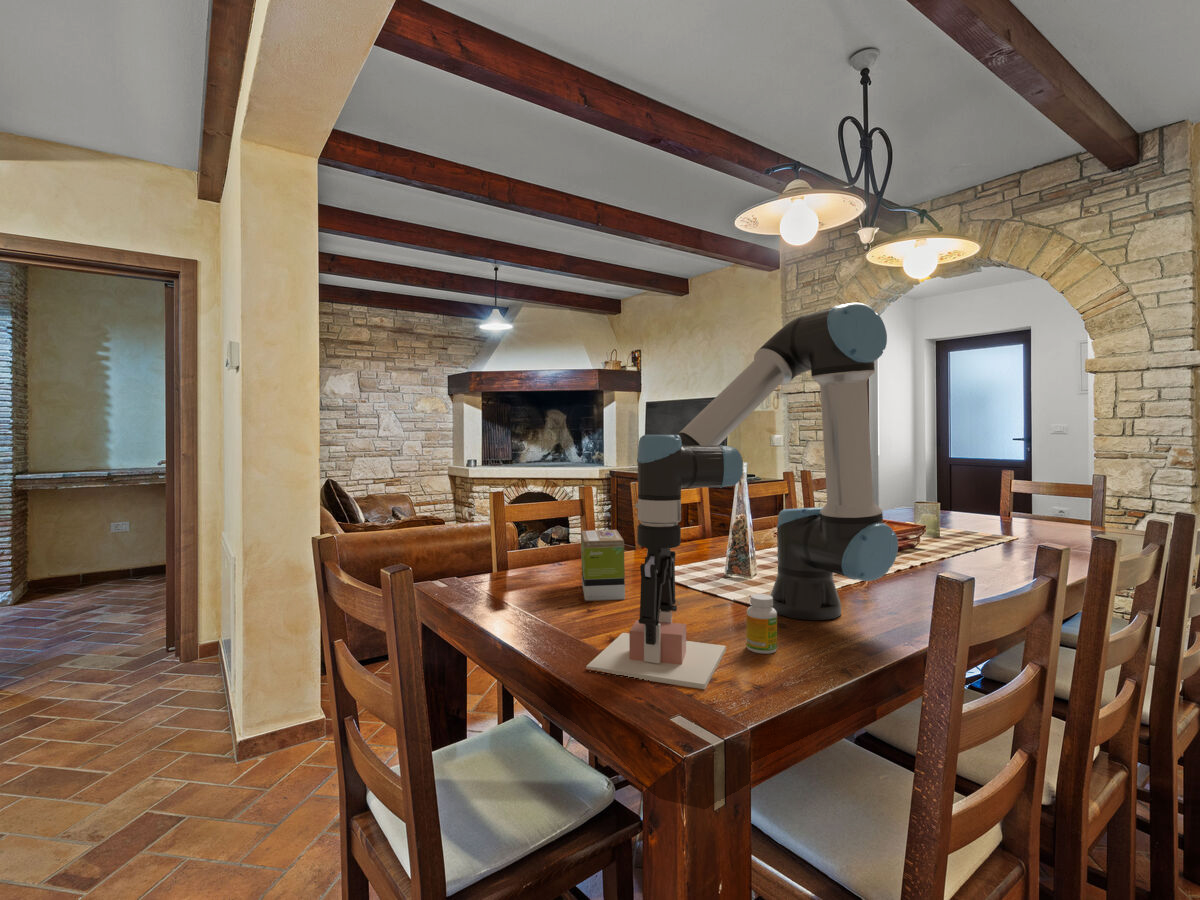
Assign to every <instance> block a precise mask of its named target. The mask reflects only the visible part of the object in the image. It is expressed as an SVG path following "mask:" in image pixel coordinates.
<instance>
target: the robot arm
mask: <svg viewBox="0 0 1200 900" xmlns="http://www.w3.org/2000/svg"><path fill="white" fill-rule="evenodd" d="M887 343H888V335H887V330H886V325H885V322H884V321H883V319H882V317H881V316H880V314H879V313H877V312H876V311H875V309H874V308H872V307H871V306H869V305H868V304H865V303H861V302H851V303H845V304H844V303H843V304H836V305H834V306H832V307H828V308H826V309H822V310H819V311H815V312H811V313H807V314H803V315H800V316H798V317H796V318H794V319H793V320H791V321H789V322H788V323H786V324H785V325H784V326H783V327H781V329H779V330H778V331H777V332H775V334H773V336H772V337H770V338H769V339H768V340H767V341H766V342H765V343H764V344H763V345H762V346H761V347H760V348H758V350H756V351H755V353H754V354H753V361H752V362H751V363H750V364H749V365H748V366H747V367H746V368H744V370H742V371H741V373H739V374H738V375H737V376H736V377H735V378H734V379H733V380H732V381H731V382H730V383H729V384H727V386H726V387H725V388H724V389H723V390H722V391H721V392H719V394H718V395H716V397H714V398H713V400H711V401H710V402H709V403H708V404H707V406H706V407H704V408H703V409H702V410H701V411H700V412H699V413H698V414H697V415H696V416H695V417H693V419H692V420H691V421H689V423H688V424H686V426H685V427H684V428H683V429H682V430H680V431H679V432H678V433H677V434H643V435H642V436H640V437H639V440H638V447H637V457H636V463H637V502H636V503H635V504H634V507H635V508H636V509H637V520H638V521H639V522H640V523H638V525H637V526H636V527H637V528H636V529H637V531H636V532H637V539H636V540H637V541H636V542H637V545H639V546H640V547H642V548H646V551H647V552H646V556H645V558H644V563H640V567H639V568H640V571H639V572H640V597H639V599H640V601H639V619H638V620H639V623H640V624H644V661H645V662H652V663H660V662H661V624H659V622H667V623H673V612H677V610H678V609H677V608H678V606H677V605H675V604H676V603H677V602H676V571H675V570H676V568H675V567H676V565H675V564H676V552H675V550H674V551H672V550H671V549H674V548H677V547H679V546H680V545H681V541H682V540H681V536H682V535H681V532H682V528H681V527H682V526H680V524H679V523H680V522H681V521H682V489H688V488H689V489H690V488H691V489H692V488H693V489H694V488H720V489H722V488H727V487H733V486H735V485H737V484H738V483H739V482H740V480H741V479H742V476H743V474H744V467H743V465H744V460H743V457H742V454H741V453H740V451H739V450H738V449H737V448H736V447H734V446H730V445H723V444H722V443H723V442H724V441H725V439H727V437H729V435H730V434H732V433H733V432H734V431H735V430H736V429H737V428H738V427H739V426H740V425H741V423H743V422H744V420H746V419H747V418H748V417H749V416H750V415H751V414H752V413H753V412H754V411H755V410H756V409H757V408H758V407H759V406H760V405H761V404H762V403H763V402H764V401H765V400H766V399H768V397H769V396H770V395H771V394H772V393H773V392H774V391H776V389H777V388H778V387H779V386H786V385H789V383H790V382H791V381H792V380H793V379H794V378H795V377H797V376H799V375H801V374H803V373H806V372H809V371H810V374H811V375H810V376H811V379H812V380H814V381H815V382H816V383H817V384H818V386H820V388H819V391H820V404H821V406H820V407H821V420H822V421H821V423H822V437H823V452H824V453H823V454H824V469H825V470H824V471H825V474H824V475H825V487H826V489H825V490H826V504H825V505H824V506H820V507H802V508H801V507H799V508H798V507H797V508H784V509H782V510H780V511H779V512H778V515H777V525H776V529H777V531H776V532H777V535H776V538H777V541H776V542H777V575H776V578H775V581H774V584H773V587H772V590H771V593H770V596H772V597H773V606H772V608H774V609H775V610H776V612H777V615H780V616H783V617H787V618H792V619H797V620H806V621H807V620H808V621H825V620H827V621H828V620H833V619H837V618H839V617H840V616H841V615H842V603H841V600H840V597H839V593H838V590H837V586H836V585H835V582H834V578H833V574H836V575H839V576H843V577H845V578H848V579H850V580H859V581H864V582H873V581H876V580H879V579H880V578H882V577H883V576H885V575H886V574H887V573H889V570H890V568H892V567H893V565H894V563H896V559H897V556H898V551H899V539H898V536H897V534H896V532H895V531H894V530H893V528H892V527H891V526H889V525H888V524H886V523H884V516H883V515H884V514H883V510H882V508H880V507H879V505H877V504H876V503H875V502H874V490H873V489H874V488H873V470H872V468H873V467H872V455H871V454H872V453H871V437H870V436H871V435H870V419H869V418H870V416H869V415H870V414H869V402H868V401H869V400H868V397H869V396H868V385H867V384H868V383H867V382H868V380H869V379H870V377H872V376H873V374H874V373H875V372H876V371H875V361H877V360H878V359H879V358H880V357H882V356H883V354H884V351H885V350H886V348H887Z"/></svg>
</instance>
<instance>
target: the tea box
mask: <svg viewBox="0 0 1200 900" xmlns="http://www.w3.org/2000/svg"><path fill="white" fill-rule="evenodd" d="M580 555H581V559H580V560H581V587H582V592H583V597H584V598H583V599H584V601H585V602H592V601H611V600H612V601H615V600H625V599H626V598H625V597H626V581H625V573H626V572H625V570H626V569H625V540H624V538H623V537H622V536H621V534H620V532H619V531H618V529H595V530H594V529H593V530H580Z"/></svg>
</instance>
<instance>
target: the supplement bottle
mask: <svg viewBox="0 0 1200 900" xmlns="http://www.w3.org/2000/svg"><path fill="white" fill-rule="evenodd" d="M770 595H771V594H770ZM770 595H769V594H764V593H754V594H751V595H750V604H751V606H748V608H747V610H746V648H747V649H748V651H751V652H752V653H756V654H763V655H764V654H765V655H766V654H767V655H768V654H769V655H770V654H773V653H776V651H777V649H778V614H777V612H776V610H775V609H774V608H772V606H773V597H772V596H770Z"/></svg>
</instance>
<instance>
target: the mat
mask: <svg viewBox="0 0 1200 900" xmlns="http://www.w3.org/2000/svg"><path fill="white" fill-rule="evenodd" d="M726 651H727V646H726V645H723V644H722V645H721V644H713V643H708V642H707V643H706V642H698V641H692V640H691V641H689V640H686V654H685V657H684V660H683V663H682V664H671V663H661V662H660V663H652V662H645V661H640V660H630V644H629V632H622V633H621V634H619V636H618V637H616V638H615V639H614V640H613V641H611V643H610V644H609V645H608V646H607V647H605V648H604V649H603V650H602V651H601V652H600V653H599V654H597V656H596V657H595V658H593V660H591V661H590V662H589V663H588V664H587V665H586V669H591V670H597V671H602V672H607V673H612V674H616V675H624V676H628V677H627V678H629V677H634V678H633V679H635V678H639V679H638V680H642V679H644V680H643V681H648V680H649V681H650V682H655V683H660V684H662V683H663V684H669V685H674V686H680V687H687V688H694V689H700V690H706V688H707V687H708V685H709V682H710V681H711V679H712V677H713V675H714V673H715V671H716V670H717V667H718V666H719V664H720V662H721V660H722V658H723V657H724V654H725V653H726ZM616 675H615V676H616Z"/></svg>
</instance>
